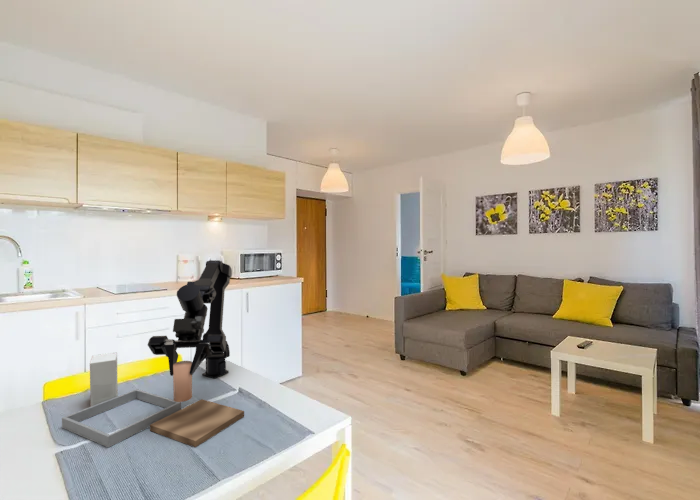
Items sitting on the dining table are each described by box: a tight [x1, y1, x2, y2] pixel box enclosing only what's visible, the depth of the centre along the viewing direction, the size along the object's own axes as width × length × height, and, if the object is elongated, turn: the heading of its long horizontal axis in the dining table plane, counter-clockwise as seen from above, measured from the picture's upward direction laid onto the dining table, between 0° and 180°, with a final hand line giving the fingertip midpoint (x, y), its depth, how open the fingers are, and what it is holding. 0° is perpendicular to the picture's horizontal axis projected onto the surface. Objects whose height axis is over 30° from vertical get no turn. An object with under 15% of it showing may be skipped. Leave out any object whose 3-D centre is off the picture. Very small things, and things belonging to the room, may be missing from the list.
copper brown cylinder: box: [172, 360, 193, 403], centre depth 91 cm, size 4×4×9 cm
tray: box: [61, 388, 182, 448], centre depth 94 cm, size 19×19×2 cm
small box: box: [89, 352, 119, 407], centre depth 104 cm, size 8×6×13 cm
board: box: [149, 398, 245, 448], centre depth 92 cm, size 16×16×2 cm
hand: (181, 374), depth 90 cm, fingers closed on copper brown cylinder, 4 cm apart
